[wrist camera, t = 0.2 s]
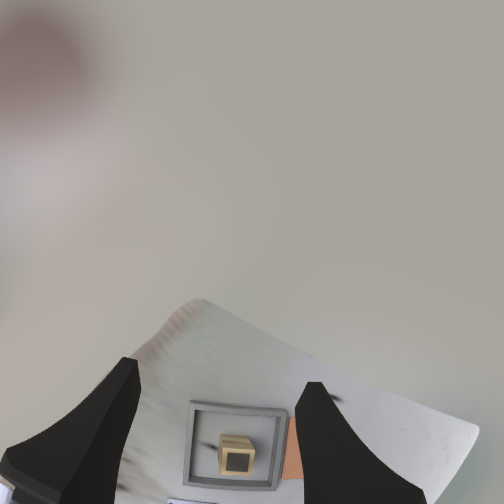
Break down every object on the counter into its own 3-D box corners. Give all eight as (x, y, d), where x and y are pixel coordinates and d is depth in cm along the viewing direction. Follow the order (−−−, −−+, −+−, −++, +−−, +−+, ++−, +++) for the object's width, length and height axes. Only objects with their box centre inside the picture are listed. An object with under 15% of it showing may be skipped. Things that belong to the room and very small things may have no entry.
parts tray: (272, 484, 33) (276, 490, 31) (183, 478, 32) (182, 485, 30) (282, 408, 38) (287, 411, 36) (190, 400, 37) (189, 403, 35)
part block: (244, 459, 35) (252, 475, 28) (217, 457, 34) (220, 474, 28) (247, 436, 36) (255, 450, 30) (220, 434, 36) (223, 447, 29)
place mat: (333, 474, 35) (334, 475, 35) (280, 478, 34) (281, 479, 34) (342, 415, 39) (343, 416, 39) (289, 417, 38) (290, 417, 38)
